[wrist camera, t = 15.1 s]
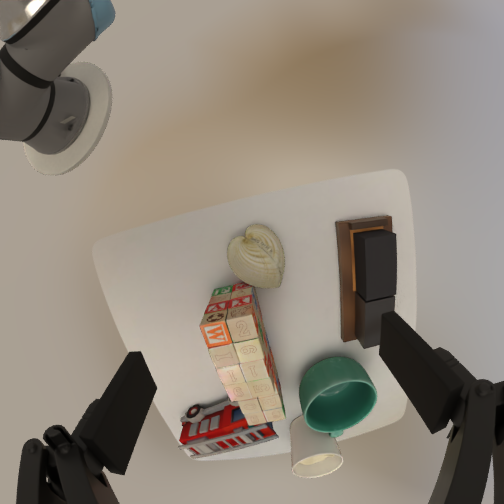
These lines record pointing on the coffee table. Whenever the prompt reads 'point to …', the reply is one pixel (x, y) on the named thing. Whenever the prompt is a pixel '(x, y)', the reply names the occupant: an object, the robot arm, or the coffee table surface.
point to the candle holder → (312, 451)
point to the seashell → (257, 257)
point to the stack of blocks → (243, 353)
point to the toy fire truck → (221, 430)
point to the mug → (336, 395)
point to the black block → (375, 263)
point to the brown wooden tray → (352, 303)
